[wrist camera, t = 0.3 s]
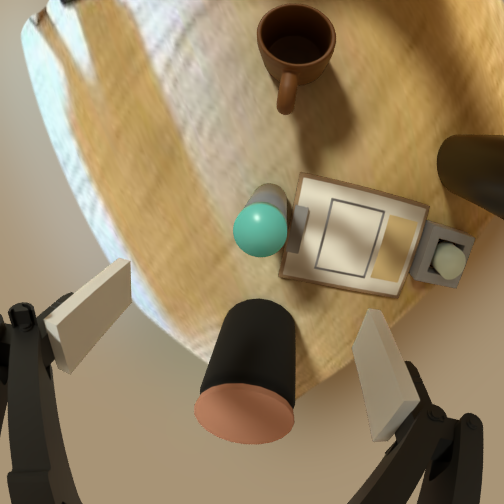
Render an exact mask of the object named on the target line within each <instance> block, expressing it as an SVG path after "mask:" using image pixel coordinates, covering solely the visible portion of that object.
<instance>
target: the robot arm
mask: <svg viewBox="0 0 504 504" xmlns="http://www.w3.org/2000/svg"><path fill="white" fill-rule="evenodd" d="M131 303H132V299H131V267H130V260H125V259H121V258H118V259H117V260H116V261H114V262H113V263H112V264H110V265H109V266H108V267H107V268H106V269H104V270H103V271H101V272H100V273H99V274H98V275H96V276H95V277H94V278H93V279H92V280H90V281H89V282H88V283H86V284H85V285H84V286H83V287H81V288H80V289H79V290H78V291H76V292H75V293H72V292H71V293H68V294H66V295H63V296H62V297H61V298H60V299H58V300H57V301H56V302H54V303H53V304H52V305H51V306H50V307H48V308H47V309H46V310H45V311H44V312H42V313H41V314H40V315H39V316H38V317H37V318H36V315H35V311H34V307H33V306H32V305H31V304H29V303H23V302H22V303H18V304H15V305H13V306H12V307H11V308H10V309H9V311H8V315H9V318H10V321H11V324H12V325H11V324H6V323H4V321H3V317H2V315H1V314H0V434H1V429H2V424H3V419H4V415H5V410H6V406H7V402H8V427H9V441H10V450H11V459H12V468H13V469H12V471H11V472H9V473H8V475H7V482H8V488H9V493H10V498H11V503H12V504H82V502H81V500H80V498H79V496H78V493H77V490H76V487H75V484H74V481H73V477H72V474H71V470H70V467H69V463H68V459H67V455H66V452H65V447H64V443H63V438H62V433H61V429H60V423H59V418H58V412H57V405H56V398H55V391H54V382H53V373H52V367H51V363H52V362H53V361H54V359H55V361H56V364H57V367H58V369H60V370H62V371H64V372H66V373H68V374H71V373H72V372H73V371H74V369H75V368H76V367H77V366H78V365H79V363H80V362H81V361H82V360H83V359H84V357H85V356H86V355H87V354H88V353H89V351H90V350H91V349H92V348H93V347H94V346H95V344H96V343H97V342H98V341H99V340H100V338H101V337H102V336H103V335H104V334H105V333H106V331H107V330H108V329H109V328H110V327H111V326H112V325H113V323H114V322H115V321H116V320H117V319H118V318H119V316H120V315H121V314H122V313H123V312H124V311H125V310H126V309H127V307H128V306H129V305H130V304H131ZM352 351H353V355H354V359H355V363H356V367H357V371H358V375H359V379H360V384H361V388H362V392H363V396H364V402H365V406H366V411H367V416H368V421H369V426H370V431H371V436H372V441H388V440H389V439H390V438H391V437H392V436H393V434H394V433H395V436H396V441H395V443H394V444H392V446H391V447H390V448H389V449H388V450H387V451H386V452H385V454H386V455H385V456H384V458H383V459H382V461H381V462H380V463H379V465H378V466H377V467H376V469H375V470H374V471H373V473H372V474H371V475H370V477H369V478H368V479H367V480H366V482H365V483H364V484H363V486H362V487H361V488H360V489H359V490H358V492H357V493H356V494H355V495H354V496H353V498H352V499H351V500H350V501H349V502H348V503H347V504H406V503H407V501H408V499H409V498H410V496H411V494H412V493H413V491H414V489H415V488H416V485H417V484H418V482H419V480H420V479H421V477H422V475H423V473H424V471H425V474H424V479H423V483H422V487H421V491H420V494H419V498H418V501H417V504H479V503H480V494H481V485H482V472H483V471H482V470H483V425H482V422H481V420H480V419H479V418H478V417H477V416H476V415H474V414H472V413H466V414H464V415H463V416H462V417H461V418H460V420H456V419H452V418H447V416H446V413H445V412H444V410H443V409H441V408H440V407H439V406H436V405H434V404H432V402H431V400H430V398H429V395H428V393H427V390H426V388H425V386H424V384H423V381H422V379H421V378H420V375H419V372H418V370H417V368H416V367H415V366H414V365H413V364H412V363H411V362H410V361H404V360H403V357H402V355H401V353H400V351H399V348H398V346H397V344H396V342H395V340H394V337H393V335H392V333H391V331H390V329H389V326H388V324H387V322H386V320H385V318H384V316H383V314H382V312H381V310H377V309H371V308H368V310H367V313H366V315H365V318H364V320H363V323H362V325H361V327H360V330H359V332H358V335H357V337H356V339H355V342H354V344H353V346H352ZM425 469H426V470H425Z"/></svg>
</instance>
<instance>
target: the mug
mask: <svg viewBox="0 0 504 504" xmlns="http://www.w3.org/2000/svg"><path fill="white" fill-rule="evenodd" d="M257 42H258V47H259V50H260V53H261V56H262V59H263V62H264V65H265V67H266V69H267V70H268V72H269V73H270V74H271V75H272V76H273V77H274V78H275V79H277V80H278V81H280V85H279V91H278V98H277V110H278V112H280V113H281V114H283V115H288V114H290V113H292V112H293V109H294V104H295V98H296V93H297V87H298V85H304V84H308V83H310V82H312V81H314V80H316V79H317V78H318V77H319V76H320V75H321V74H322V73H323V71H324V69H325V68H326V66H327V64H328V62H329V60H330V59H331V57H332V54H333V52H334V48H335V44H336V33H335V29H334V27H333V25H332V23H331V22H330V20H329V19H328V18H327V17H326V16H325V15H324V14H323V13H321V12H320V11H318V10H317V9H315V8H313V7H310V6H307V5H303V4H285V5H281V6H278V7H276V8H274V9H272V10H270V11H269V12H267V13H266V14H265V15H264V16H263V18H262V19H261V21H260V23H259V25H258V28H257Z"/></svg>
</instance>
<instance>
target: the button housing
mask: <svg viewBox="0 0 504 504" xmlns="http://www.w3.org/2000/svg"><path fill="white" fill-rule="evenodd" d="M439 238H440V239H444V240H447V241H451V242H454V243H456V244H455V246H456V247H457V248H459V249H460V250H461V251H462V252H463V253H464V255H465V258H466V262H465V266H466V263H467V260H468V258H469V255H470V252H471V249H472V246H473V244H474V241H475V238H474V237H473V236H471V235H470V234H468V233H467V232H464V231H461V230H458V229H454V228H451V227H448V226H445V225H442V224H439V223H435V222H432V221H429V220H426V222H425V225H424V229H423V232H422V235H421V238H420V241H419V244H418V247H417V250H416V253H415V256H414V259H413V262H412V265H411V267H410V270H409V273H410V275H411V276H412V277H413V278H414V280H417V281H422V282H426V283H431V284H436V285H441V286H447V287H452V288H457V285H458V283H459V280H460V278H461V276H462V273H463V271H464V269H463V271H462V273H461V274H460V275H459V276H458V277H456V278H455V279H452V280H447V279H445V278H443V277H442V276H441V275H440V273H439V272H438V271H437V270H436V269H435V268H432V267H429V266H430V263H431V260H432V258H433V255H434V252H435V249H436V246H437V243H438V240H439ZM464 268H465V267H464Z"/></svg>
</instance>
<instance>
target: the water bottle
mask: <svg viewBox="0 0 504 504" xmlns="http://www.w3.org/2000/svg"><path fill="white" fill-rule="evenodd" d="M437 170H438V174H439V177H440V180H441V182H442V183H443V185H444V186H445V187H446V188H447V189H448V190H449V191H450V192H452V193H454V194H456V195H458V196H460V197H462V198H464V199H466V200H468V201H470V202H472V203H474V204H476V205H478V206H480V207H482V208H484V209H486V210H487V211H489V212H491V213H493V214H495V215H497V216H498V217H500V218H502V219H504V136H503V135H453V136H450V137H449V138H447V139H446V140H445V141H444V142H443V143H442V145H441V147H440V149H439V152H438V156H437Z"/></svg>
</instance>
